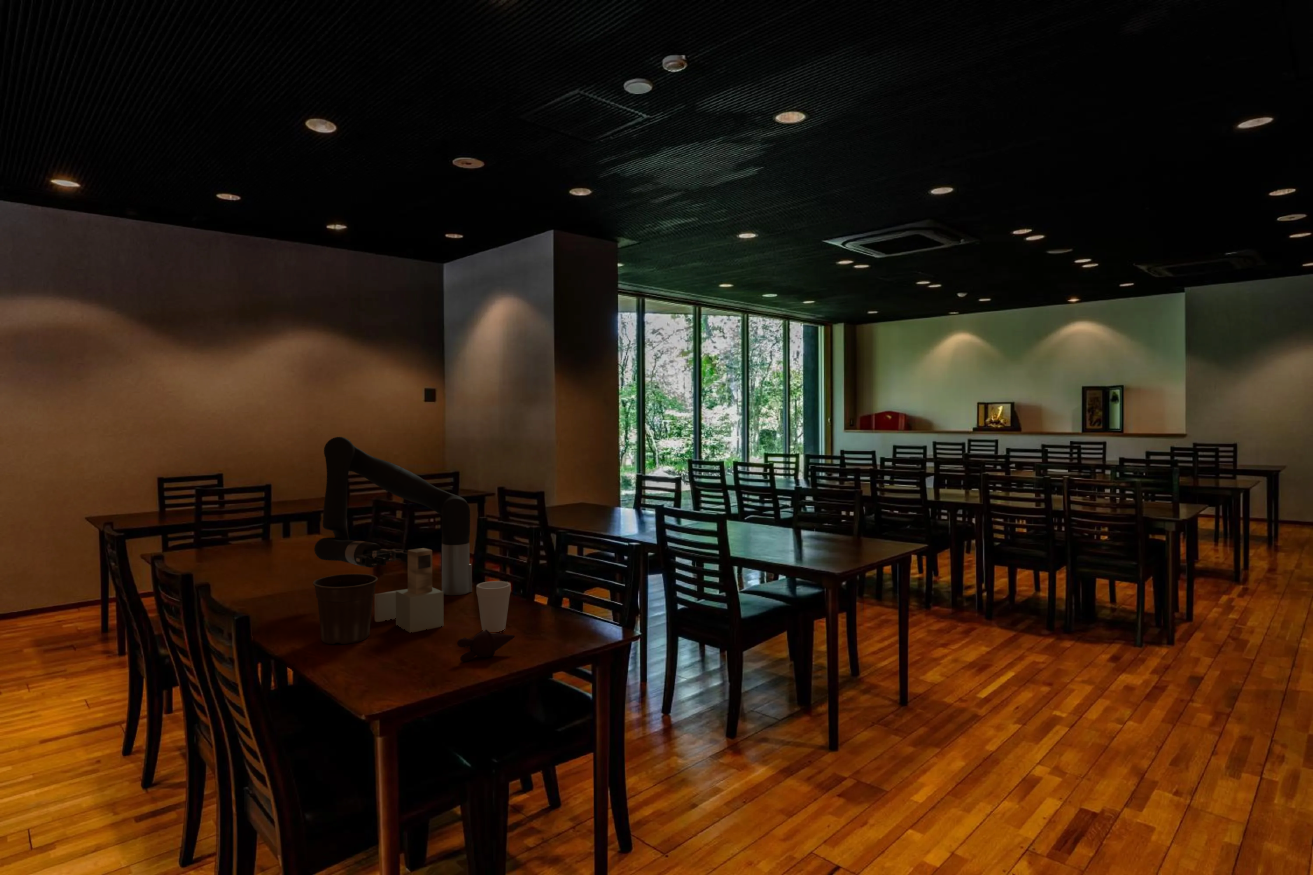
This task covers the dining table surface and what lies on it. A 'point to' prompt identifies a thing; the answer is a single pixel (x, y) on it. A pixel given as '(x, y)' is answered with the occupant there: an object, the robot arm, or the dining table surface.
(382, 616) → the screen
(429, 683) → the dining table surface
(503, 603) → the foam cup
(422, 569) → the birch block
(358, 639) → the plant pot
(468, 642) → the icecream
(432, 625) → the stand
